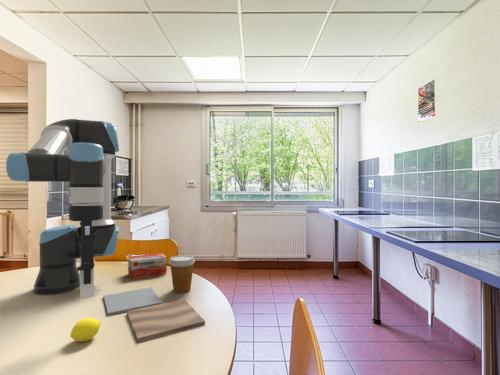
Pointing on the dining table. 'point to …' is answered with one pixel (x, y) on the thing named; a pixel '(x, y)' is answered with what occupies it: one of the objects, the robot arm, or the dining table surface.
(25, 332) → the dining table surface
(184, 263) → the disposable coffee cup
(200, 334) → the dining table surface
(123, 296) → the slate grey mat
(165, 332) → the walnut board
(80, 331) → the lemon
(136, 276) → the medicine box
